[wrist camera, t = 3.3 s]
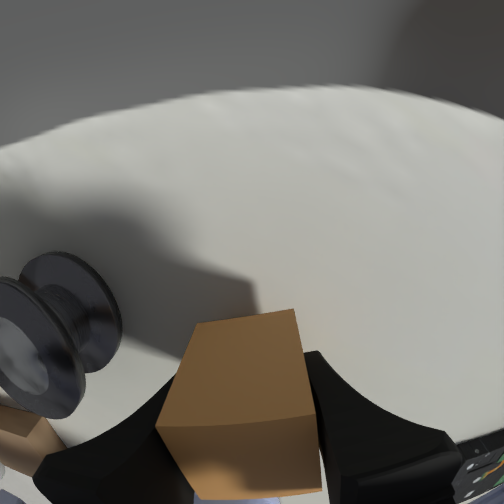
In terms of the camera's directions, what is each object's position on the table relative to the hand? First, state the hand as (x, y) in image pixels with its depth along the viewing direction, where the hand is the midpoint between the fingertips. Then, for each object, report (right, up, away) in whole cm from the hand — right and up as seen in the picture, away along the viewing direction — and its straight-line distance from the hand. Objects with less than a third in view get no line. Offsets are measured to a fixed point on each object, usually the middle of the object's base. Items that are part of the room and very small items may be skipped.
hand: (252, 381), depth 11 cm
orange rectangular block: (0, 0, +2) cm, 2 cm away
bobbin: (-10, +2, +3) cm, 11 cm away
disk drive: (+24, -16, +8) cm, 30 cm away
